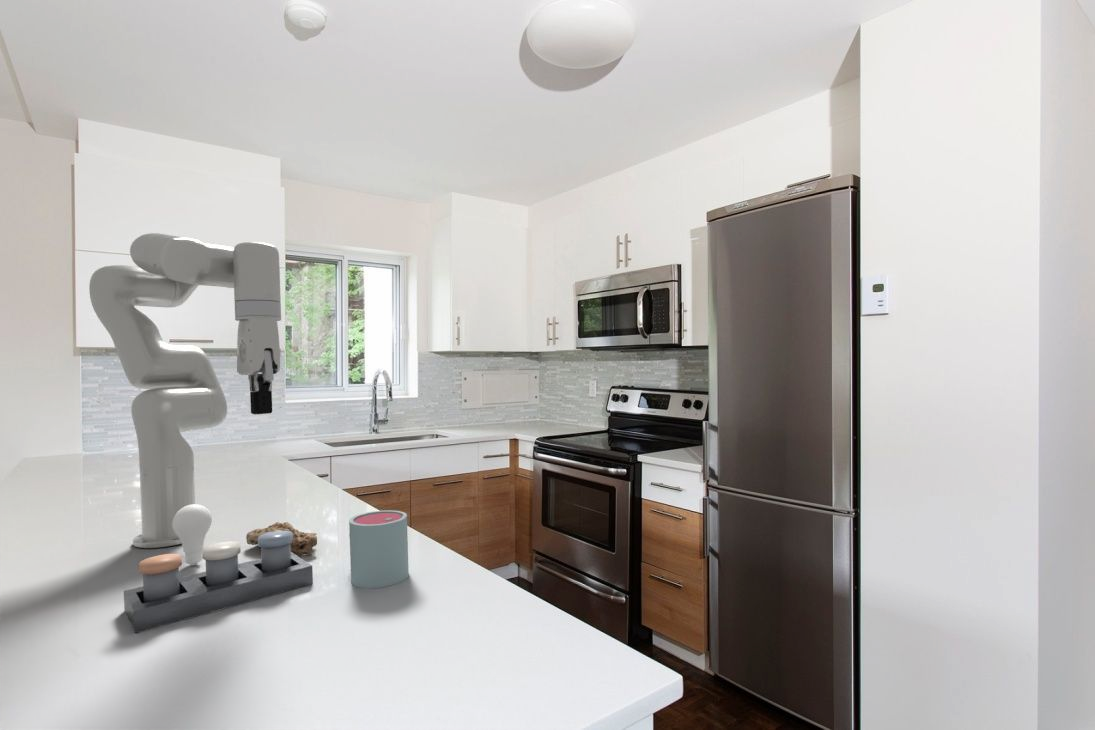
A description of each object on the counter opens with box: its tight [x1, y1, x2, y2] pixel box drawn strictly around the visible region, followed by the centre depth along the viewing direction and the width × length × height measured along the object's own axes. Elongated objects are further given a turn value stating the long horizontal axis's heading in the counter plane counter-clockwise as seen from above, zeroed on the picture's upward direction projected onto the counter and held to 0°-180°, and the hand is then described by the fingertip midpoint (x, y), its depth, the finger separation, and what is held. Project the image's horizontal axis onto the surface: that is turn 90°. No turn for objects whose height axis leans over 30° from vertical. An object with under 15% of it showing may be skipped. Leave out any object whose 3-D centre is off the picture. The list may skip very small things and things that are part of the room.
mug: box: [348, 509, 409, 589], centre depth 100 cm, size 14×9×10 cm
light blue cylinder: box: [257, 531, 293, 573], centre depth 97 cm, size 5×5×6 cm
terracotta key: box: [138, 553, 183, 603], centre depth 86 cm, size 5×5×6 cm
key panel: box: [123, 552, 314, 634], centre depth 92 cm, size 10×24×3 cm, turn 132°
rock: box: [245, 521, 318, 556], centre depth 116 cm, size 17×5×10 cm
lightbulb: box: [172, 503, 213, 567], centre depth 107 cm, size 6×6×11 cm
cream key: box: [202, 541, 242, 588], centre depth 92 cm, size 5×5×6 cm
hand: (261, 413), depth 107 cm, fingers closed
